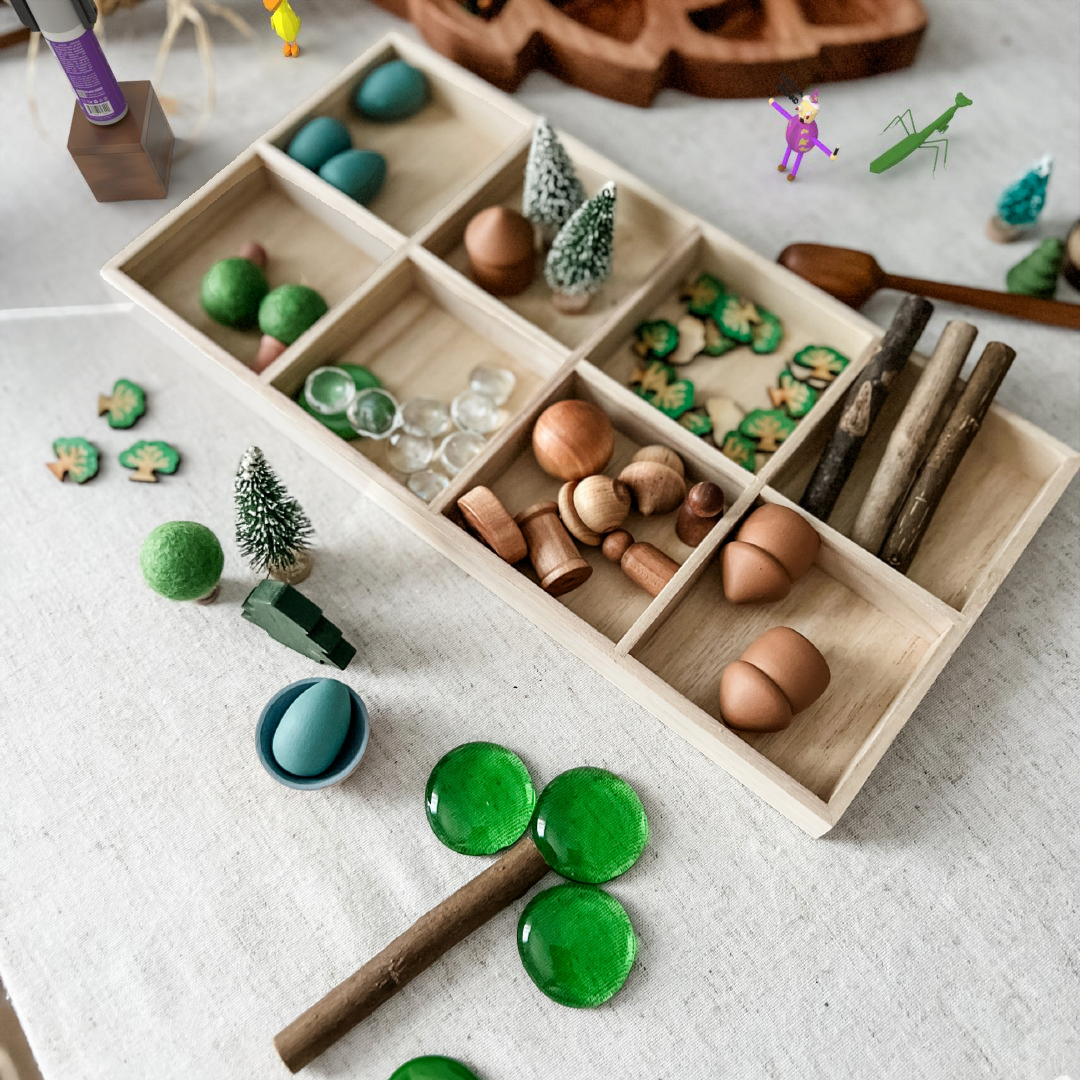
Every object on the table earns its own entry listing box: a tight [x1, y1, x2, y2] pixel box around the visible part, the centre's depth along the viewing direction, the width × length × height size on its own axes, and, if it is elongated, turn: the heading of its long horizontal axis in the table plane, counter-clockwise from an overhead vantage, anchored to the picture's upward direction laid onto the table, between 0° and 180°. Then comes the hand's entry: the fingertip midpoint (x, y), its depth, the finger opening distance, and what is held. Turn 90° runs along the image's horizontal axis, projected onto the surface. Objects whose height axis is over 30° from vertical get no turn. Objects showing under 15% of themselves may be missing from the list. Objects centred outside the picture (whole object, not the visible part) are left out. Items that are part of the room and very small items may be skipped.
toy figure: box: [262, 0, 302, 58], centre depth 114 cm, size 7×4×12 cm, turn 176°
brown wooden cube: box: [66, 79, 175, 203], centre depth 108 cm, size 8×10×8 cm
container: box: [26, 0, 128, 125], centre depth 97 cm, size 5×5×15 cm
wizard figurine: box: [768, 72, 841, 182], centre depth 106 cm, size 11×3×12 cm, turn 35°
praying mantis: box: [869, 91, 974, 179], centre depth 111 cm, size 9×15×4 cm, turn 127°
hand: (63, 24), depth 94 cm, fingers closed on container, 4 cm apart
